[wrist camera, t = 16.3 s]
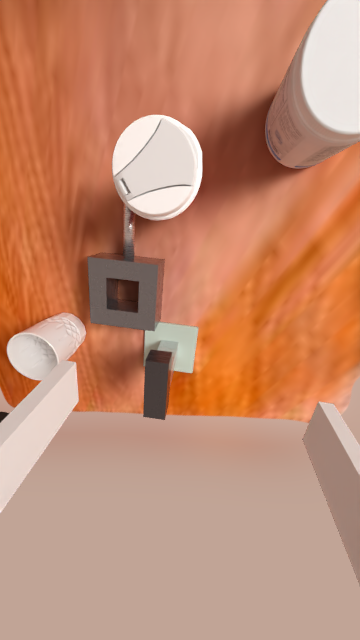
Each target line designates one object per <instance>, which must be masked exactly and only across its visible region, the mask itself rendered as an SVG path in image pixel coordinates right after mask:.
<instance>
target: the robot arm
mask: <svg viewBox="0 0 360 640" xmlns="http://www.w3.org/2000/svg"><path fill="white" fill-rule="evenodd" d="M78 401H79V400H78V385H77V371H76V362H71V361H64V360H62V361H61V362H60V363H59V364H58V365H57V366H56V367H55V368H54V369H53V370H52V371H51V372H50V373H49V374H48V375H47V376H46V377H45V378H44V379H43V380H42V381H41V382H40V383H39V384H38V385H37V386H36V387H35V388H34V389H33V390H32V391H31V392H30V393H29V394H28V395H27V396H26V397H25V398H24V399H23V400H22V401H21V402H20V403H19V404H18V405H17V406H16V407H15V408H14V410H13V411H11V413H6V412H0V513H1V511H2V510H3V509H4V507H5V506H6V504H7V503H8V501H9V500H10V499H11V497H12V496H13V494H14V493H15V491H16V490H17V489H18V487H19V485H20V484H21V483H22V481H23V480H24V478H25V477H26V476H27V474H28V473H29V471H30V470H31V469H32V467H33V466H34V464H35V463H36V461H37V460H38V459H39V457H40V455H41V454H42V453H43V451H44V450H45V448H46V447H47V446H48V444H49V443H50V441H51V440H52V438H53V437H54V436H55V434H56V433H57V431H58V430H59V428H60V427H61V425H62V424H63V423H64V421H65V420H66V418H67V417H68V416H69V414H70V413H71V411H72V410H73V408H74V407H75V406H76V404H77V403H78ZM302 440H303V442H304V445H305V447H306V449H307V453H308V455H309V458H310V460H311V463H312V465H313V468H314V470H315V473H316V475H317V478H318V480H319V483H320V486H321V488H322V491H323V493H324V496H325V498H326V501H327V503H328V506H329V508H330V511H331V513H332V516H333V519H334V521H335V523H336V526H337V529H338V531H339V534H340V536H341V539H342V541H343V543H344V546H345V549H346V551H347V554H348V557H349V559H350V562H351V564H352V567H353V569H354V572H355V574H356V577H357V580H358V582H359V584H360V446H359V444H358V442H357V441H356V439H355V437H354V436H353V434H352V433H351V431H350V430H349V428H348V426H347V425H346V423H345V421H344V420H343V418H342V417H341V415H340V413H339V412H338V410H337V409H336V407H335V406H334V404H331V403H325V402H318V404H317V406H316V408H315V411H314V413H313V415H312V418H311V420H310V423H309V425H308V427H307V430H306V432H305V434H304V437H303V439H302Z"/></svg>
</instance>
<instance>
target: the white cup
mask: <svg viewBox="0 0 360 640" xmlns="http://www.w3.org/2000/svg"><path fill="white" fill-rule="evenodd" d="M85 336H86V330H85V326H84V324H83V323H82V322H81V320H80V319H79V318H78V317H76V316H74V315H73V314H70V313H64V312H63V313H60V314H56V315H54V316H52V317H50V318H48V319H45V320H43V321H41V322H39V323H37V324H35V325H33V326H31V327H30V328H28V329H26V330H24V331H22V332H20V333H18V334H16V335H14V336H13V337H12V338H11V339H10V340H9V342H8V345H7V355H8V358H9V360H10V362H11V364H12V365H13V367H14V368H15V369H16V370H17V371H18V372H19V373H21V374H22V375H24V376H26V377H28V378H30V379H34V380H43V379H44V378H45V377H46V376H47V375H48V374H49V373H50V372H51V371H52V370H53V369H54V368H55V367H56V366H57V365H58V364H59V363H60V362H61V361H62V360H64V361H68V359H69V358H70V357H71V356H72V355H73V354H74V352H75V351H76V350H77V348H78V347H79V346H80V345H81V343H82V342H83V341H84V340H85Z"/></svg>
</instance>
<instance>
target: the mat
mask: <svg viewBox="0 0 360 640" xmlns="http://www.w3.org/2000/svg"><path fill="white" fill-rule="evenodd" d="M197 334H198V327H195V326H188V325H180V324H172V323H165V322H159V323H158V325H157V327H156V329H155V331H148V330H145V343H144V366H145V360H146V358H147V356H148V354H149V352H150V350H151V349H152V350H158V347H159V345H160V342H161V340H167V341H175V342H179V344H178V356H177V361H176V365H175V369H174V371H180V372H187V373H192V372H193V365H194V357H195V349H196V342H197Z"/></svg>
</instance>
